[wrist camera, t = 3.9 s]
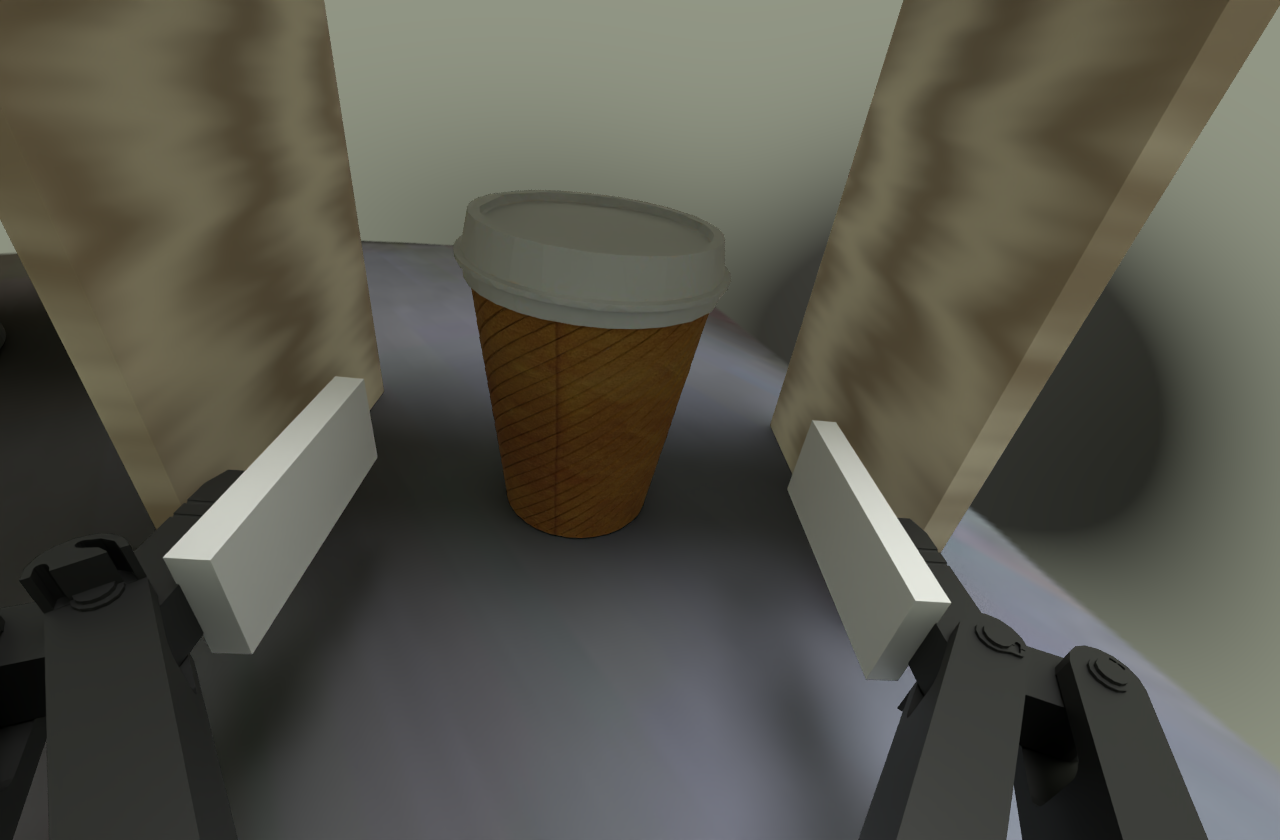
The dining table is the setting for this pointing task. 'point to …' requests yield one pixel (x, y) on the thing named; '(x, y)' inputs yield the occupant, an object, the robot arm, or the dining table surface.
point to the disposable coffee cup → (586, 343)
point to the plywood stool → (333, 258)
